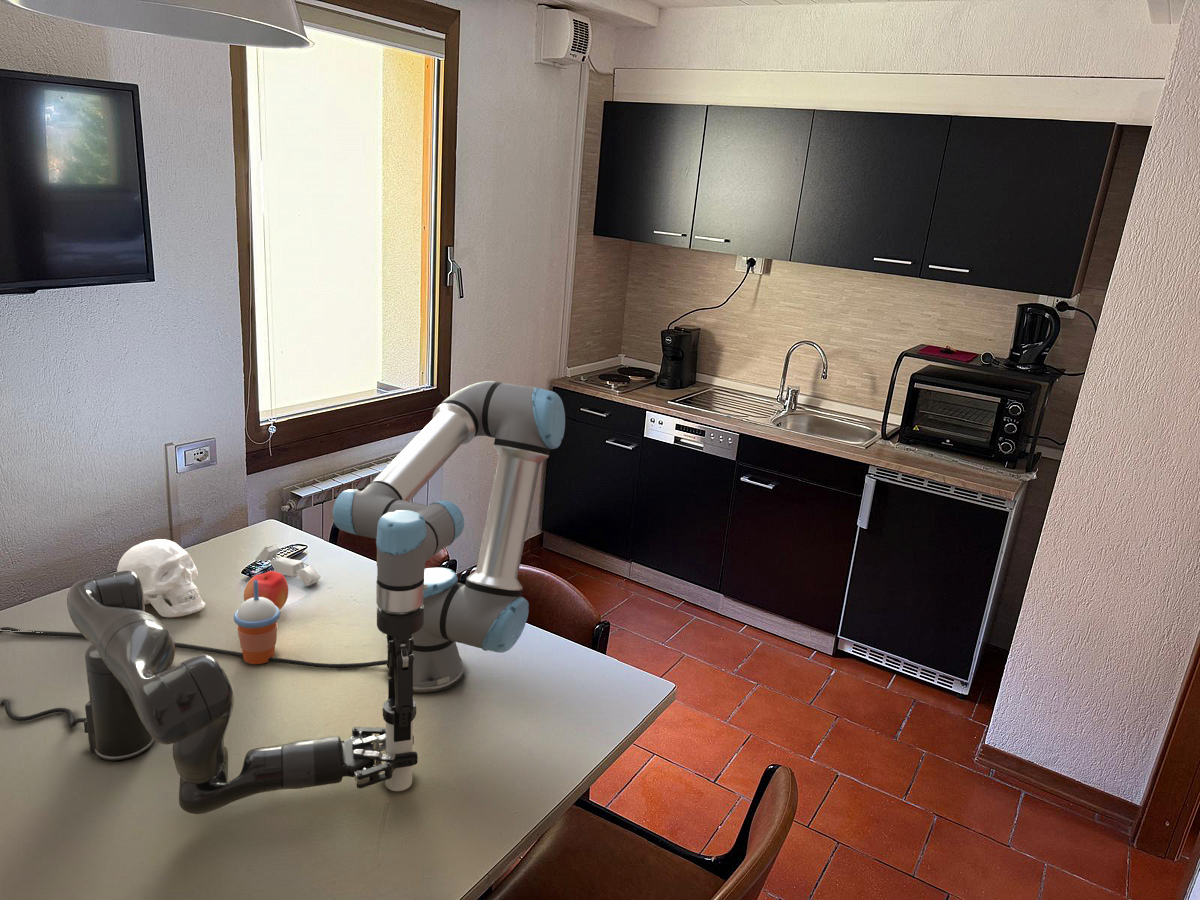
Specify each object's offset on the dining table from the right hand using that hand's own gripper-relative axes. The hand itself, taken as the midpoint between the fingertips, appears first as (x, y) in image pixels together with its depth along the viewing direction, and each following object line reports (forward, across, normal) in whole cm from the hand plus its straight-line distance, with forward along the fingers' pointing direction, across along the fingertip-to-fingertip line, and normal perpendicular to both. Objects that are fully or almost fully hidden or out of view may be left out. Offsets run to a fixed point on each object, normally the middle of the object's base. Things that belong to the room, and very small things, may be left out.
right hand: (399, 725), depth 146 cm
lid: (-4, 0, 0) cm, 4 cm away
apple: (+12, +66, +22) cm, 71 cm away
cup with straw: (+12, +47, +24) cm, 54 cm away
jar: (+12, 0, 0) cm, 12 cm away
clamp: (+12, +86, +18) cm, 89 cm away
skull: (+12, +75, +45) cm, 88 cm away
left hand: (+5, 0, -3) cm, 6 cm away
